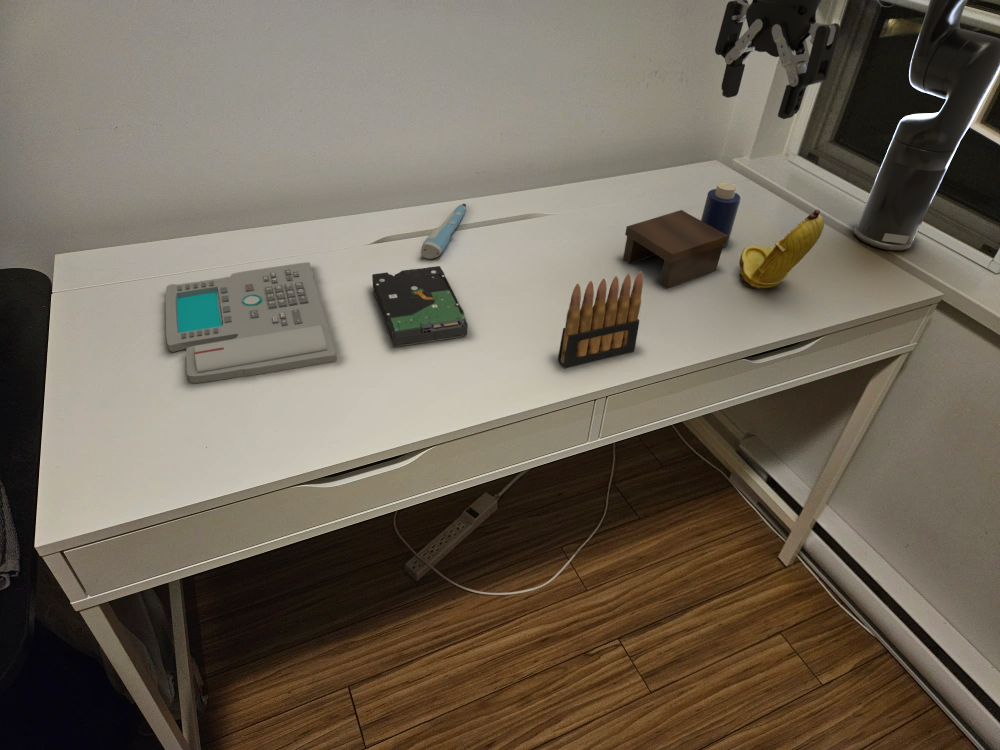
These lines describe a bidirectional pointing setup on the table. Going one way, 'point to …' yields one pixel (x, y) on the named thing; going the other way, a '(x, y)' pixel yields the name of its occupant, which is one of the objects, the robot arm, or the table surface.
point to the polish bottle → (721, 208)
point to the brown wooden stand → (676, 246)
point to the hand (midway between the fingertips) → (756, 106)
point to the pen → (442, 234)
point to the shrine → (779, 254)
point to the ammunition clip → (601, 322)
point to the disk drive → (419, 306)
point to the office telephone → (248, 323)
